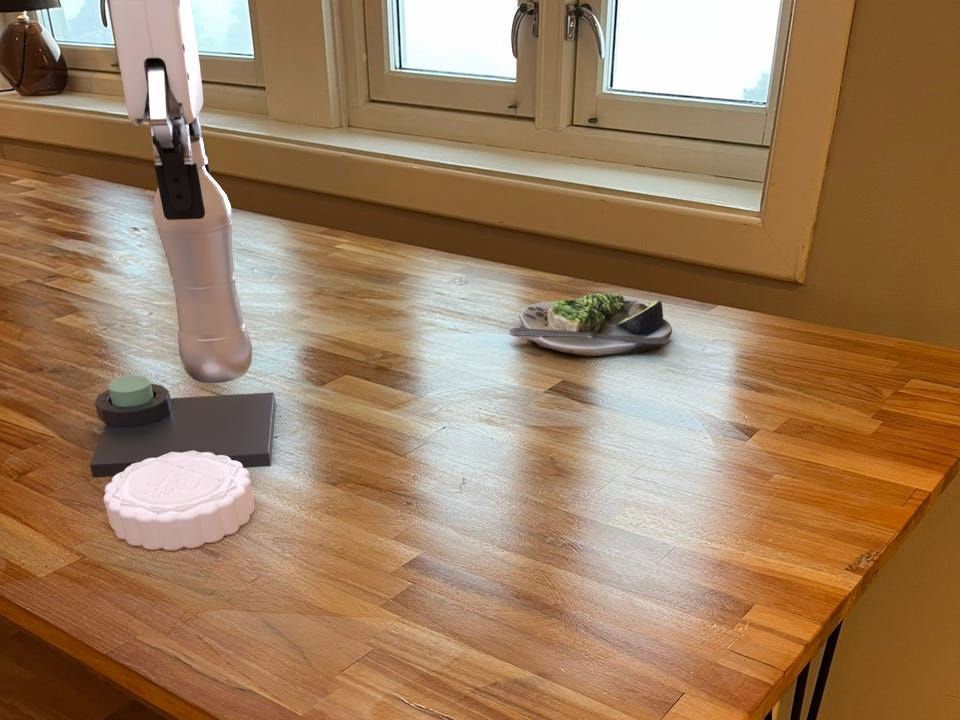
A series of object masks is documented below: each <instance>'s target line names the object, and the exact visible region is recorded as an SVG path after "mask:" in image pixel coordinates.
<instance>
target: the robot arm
mask: <svg viewBox="0 0 960 720" xmlns="http://www.w3.org/2000/svg"><path fill="white" fill-rule="evenodd" d="M109 6H110V13H111V20H112V27H113V33H114V38H115V45H116V51H117V52H116V53H117V57H118V64H119V69H120V75H121V81H122V87H123V93H124V100H125V105H126V106H125V107H126V111H127V116H128V119H129V121H130V122H131V123H132V125H134V126H136V127H140V126H142V125H143V124H144V122H145V121H146V120H147V119H148V121H149V122H148V123H149V129H150V139H151V146H152V154H153V161H154V166H153V167H154V171H155V176H156V181H157V188H158V187H159V192H160V198H161V203H162V208H163V213H164V217H165V218H166V219H168V220H182V219H202V218H203V217H204V215H205V208H204V202H203V196H202V191H201V185H200V179H199V173H198V167H197V163H193V161H192V152H191V144H190V135H191V136H199V137H201V138H202V141H203V142H204V137H203V132H202V127H201V123H200V122H201V121H200V117H199V114H200V112H201V110H202V108H203V106H204V93H203V83H202V74H201V73H202V71H201V64H200V57H199V56H200V55H199V49H198V42H197V36H196V29H195V21H194V17H193V11H192V4H191V0H109ZM180 135H181V136H180ZM180 139H181V141H180ZM181 143H182V145H181ZM203 145H204V150H205V155H206V156H207V161H208V163H207V164H206V165H205V169H206V171H207V172H208V173H209V175H210V176H211V170H210V163H209V158H208V152H207V147H206V146H207V145H206V144H203Z"/></svg>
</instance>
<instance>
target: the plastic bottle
mask: <svg viewBox="0 0 960 720" xmlns="http://www.w3.org/2000/svg"><path fill="white" fill-rule="evenodd" d="M180 136H181V135H180ZM180 141H181V139H180ZM190 144H191V152H192V161H193V163H197V167H198V173H199V179H200V185H201V191H202V196H203V202H204V208H205V215H204V217H203V218H202V219H182V220H168V219H166V218H165V217H164V213H163V208H162V203H161V198H160V192H159V187H158V186H157V189H156V192H155V195H154V198H153V202H152V216H153V220H154V224H155V226H156V230H157V233H158V236H159V239H160V242H161V245H162V248H163V251H164V255H165V257H166V260H167V265H168V269H169V274H170V277H171V278H172V286H173V291H174V296H175V305H176V314H177V323H178V337H177V340H178V341H177V342H178V356H179V359H180V361H181V364H182V366H183V367H182V368H183V370H184V371H185V373H186V374H188V376H189V377H190V378H191V379H192V380H194V381H196V382H199V383H204V384H221V383H227V382H232V381H234V380H238V379H240V378H242V377H243V376H245V375H246V374H247V373H248V371H249V370H250V367H251V365H252V363H253V345H252V340H251V337H250V333H249V330H248V328H247V325H246V323H245V322H244V317H243V312H242V307H241V302H240V299H239V295H238V290H237V286H236V275H235V273H234V272H235V267H234V257H233V221H232V219H233V215H232V206H231V203H230V200H229V198H228V196H227V193H225V191H224V190H223V189H222V187H221V185H219V183H218V182H217V181H216V180H215V179H214V178H213V177H212V176H211V174H210V175H209V173H208V172H207V171H206V169H205V165H206V164H207V163H208V164H209V160H208V161H207V157H208V155H207V156H206V155H205V150H204V145H205V144H204V140H203V141H202V138H201V137H199V136H191V135H190ZM181 145H182V143H181Z"/></svg>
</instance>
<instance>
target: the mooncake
mask: <svg viewBox="0 0 960 720" xmlns="http://www.w3.org/2000/svg"><path fill="white" fill-rule="evenodd" d="M254 500H255V499H254V492H253V487H252V481H251V475H250V472H249V470H248V469H247V468H243V465H242V464H241V463H240V462H238V461H234V460H231V459H230V458H229V457H228V456H225V455H217V456H216V455H215V454H213V453H210V452H203V453H200V452H197V451H194V450H193V451H188V452H183V453H179V452H170V453H168V454H165V455H162V456H160V457H158V458H148V459H145V460H143V461H142V462H138V463H134V464H131V466H128V467H127V468H126V469H125V470H124V471H123V472H120V473H118V474H116V475H115V476H112V478H111V481H110V482H109V483H107V484H106V485H105V487H104V495H103V504H104V507H105V510H106V515H107V518H108V522H109V525H110V527H111V529H112V530H114V533H115V536H116V537H117V538H118V539H120V540H122V541H123V540H124V541H125V542H126V543H127V544H128V545H129V546H132V547H142V548H144V549H145V550H148V551H157V550H158V551H159V550H161V549H162V550H164V551H166V552H167V551H168V552H175V551H179V550H181V549H183V548H185V549H197V548H201V547H202V546H203V545H205V544H215V543H218V542H221V541H222V539H224V536H225V537H226V536H231V535H234V534H236V533H237V532H238V531H239V529H240V527H242V526H244V525H247V523H248V522H249V521H250V519H251V518H250V516H251V515H252V514H254V512H255V504H254V503H255V502H254Z"/></svg>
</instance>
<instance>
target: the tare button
mask: <svg viewBox="0 0 960 720" xmlns="http://www.w3.org/2000/svg"><path fill="white" fill-rule="evenodd" d="M151 384H152V382H151V380H150V379H149V378H148V377H146V376H141V375H129V376H128V375H127V376H123V377H118V378H116V379H113V380H112V381H110V382H109V383H108V385H107V390H109V393H110V397H111V401H112V404H113V405H115V406H120V407H130V406H138V405H141V404H145V403H148V402H150V401H151V400H153V399H154V396H153V391H152V387H151Z"/></svg>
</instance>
